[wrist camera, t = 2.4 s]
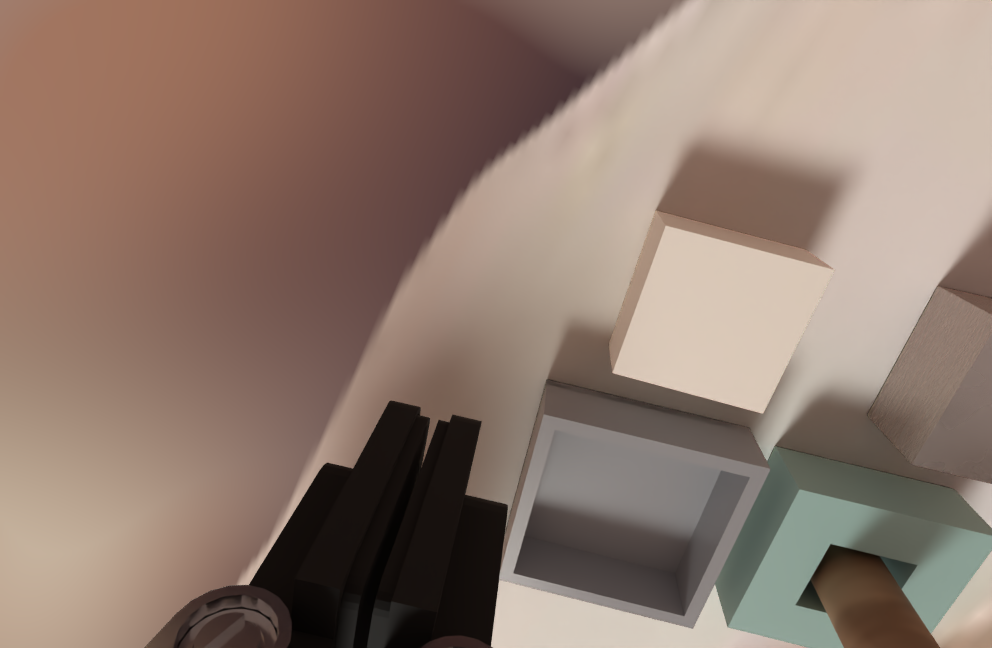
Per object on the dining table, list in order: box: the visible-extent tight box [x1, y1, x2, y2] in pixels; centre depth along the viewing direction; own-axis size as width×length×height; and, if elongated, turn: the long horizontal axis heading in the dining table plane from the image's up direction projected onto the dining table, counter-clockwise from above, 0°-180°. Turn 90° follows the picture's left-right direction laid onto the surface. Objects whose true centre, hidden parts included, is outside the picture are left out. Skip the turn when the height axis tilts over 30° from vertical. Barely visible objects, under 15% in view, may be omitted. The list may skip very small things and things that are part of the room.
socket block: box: [715, 446, 992, 648], centre depth 26 cm, size 8×8×3 cm
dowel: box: [811, 544, 940, 648], centre depth 22 cm, size 3×3×10 cm
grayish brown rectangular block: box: [867, 286, 992, 484], centre depth 22 cm, size 3×6×4 cm, turn 169°
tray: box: [499, 380, 770, 629], centre depth 26 cm, size 9×9×3 cm
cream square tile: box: [609, 211, 835, 414], centre depth 22 cm, size 6×6×3 cm
